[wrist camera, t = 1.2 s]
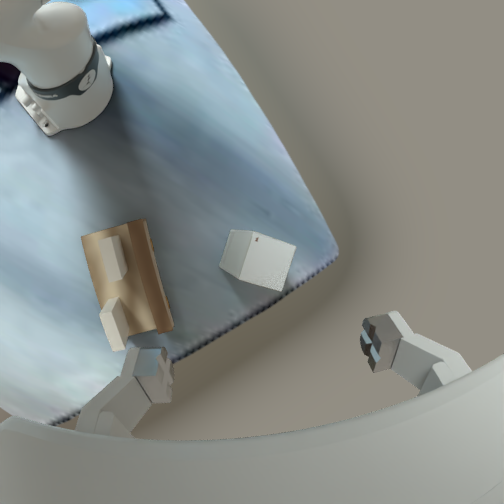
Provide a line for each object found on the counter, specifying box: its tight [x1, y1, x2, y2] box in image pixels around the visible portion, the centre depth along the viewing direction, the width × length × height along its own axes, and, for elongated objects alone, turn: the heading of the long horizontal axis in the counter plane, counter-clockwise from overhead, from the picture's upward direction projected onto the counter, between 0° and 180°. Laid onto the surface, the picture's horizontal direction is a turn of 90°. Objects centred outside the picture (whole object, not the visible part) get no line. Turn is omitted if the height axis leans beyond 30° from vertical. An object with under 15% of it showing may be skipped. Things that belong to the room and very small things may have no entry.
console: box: [81, 219, 174, 336], centre depth 45 cm, size 12×19×4 cm, turn 13°
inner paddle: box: [98, 235, 128, 283], centre depth 40 cm, size 2×6×9 cm, turn 13°
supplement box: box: [219, 229, 296, 291], centre depth 47 cm, size 7×7×13 cm
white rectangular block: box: [99, 297, 130, 352], centre depth 41 cm, size 2×6×9 cm, turn 14°
